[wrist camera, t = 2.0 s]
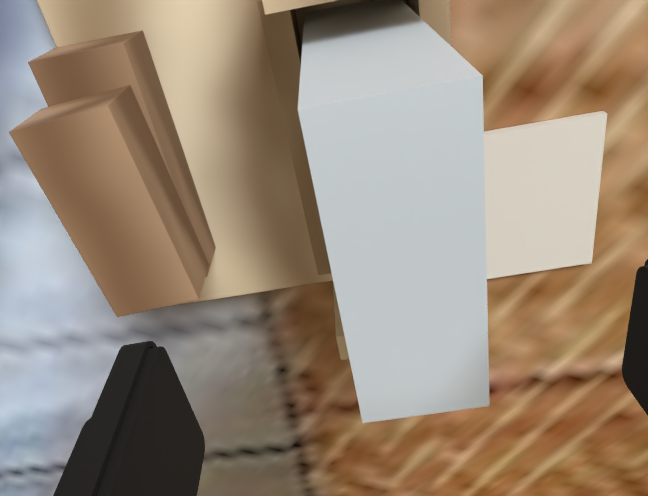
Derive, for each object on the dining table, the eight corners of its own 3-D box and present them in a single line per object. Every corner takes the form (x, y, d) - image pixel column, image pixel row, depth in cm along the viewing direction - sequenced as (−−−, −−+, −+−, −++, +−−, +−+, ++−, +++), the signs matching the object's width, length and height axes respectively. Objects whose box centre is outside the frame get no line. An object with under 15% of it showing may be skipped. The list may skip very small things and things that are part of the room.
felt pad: (602, 110, 24) (607, 113, 24) (588, 258, 28) (591, 263, 28) (445, 138, 24) (447, 141, 24) (454, 279, 29) (456, 283, 28)
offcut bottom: (142, 30, 21) (123, 43, 18) (215, 247, 26) (207, 276, 24) (56, 47, 21) (28, 62, 19) (146, 258, 26) (131, 289, 24)
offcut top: (130, 84, 19) (107, 105, 17) (209, 264, 23) (198, 298, 21) (41, 108, 20) (8, 132, 18) (134, 281, 24) (117, 317, 22)
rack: (429, -125, 19) (497, -148, 12) (452, 248, 28) (499, 360, 21) (35, -41, 20) (-109, -18, 13) (171, 292, 29) (126, 413, 22)
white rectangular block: (396, -6, 20) (482, 75, 10) (416, 204, 25) (489, 406, 15) (304, 12, 20) (297, 109, 10) (341, 217, 25) (362, 423, 15)
